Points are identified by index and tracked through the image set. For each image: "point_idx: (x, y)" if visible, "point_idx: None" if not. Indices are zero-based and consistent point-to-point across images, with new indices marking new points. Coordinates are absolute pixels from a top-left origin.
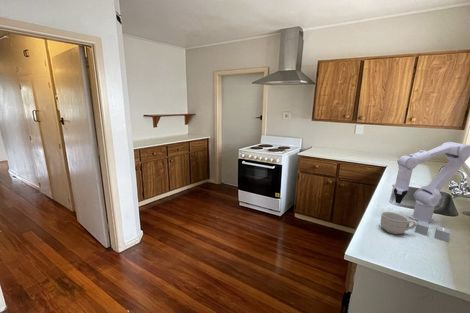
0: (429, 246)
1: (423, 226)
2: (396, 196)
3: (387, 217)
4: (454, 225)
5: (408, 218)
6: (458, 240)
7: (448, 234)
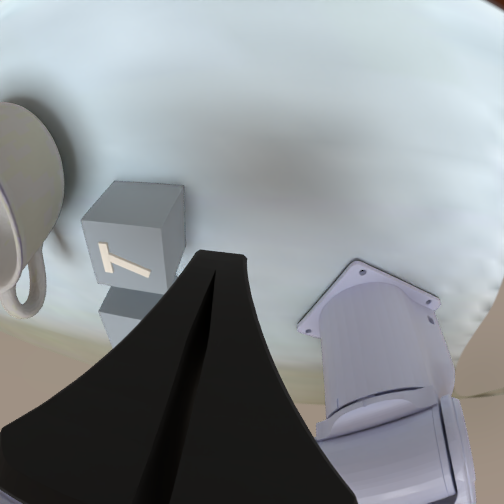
0: (45, 297)
1: (108, 332)
2: (143, 356)
3: (13, 141)
4: None
5: (145, 281)
6: None
7: None
